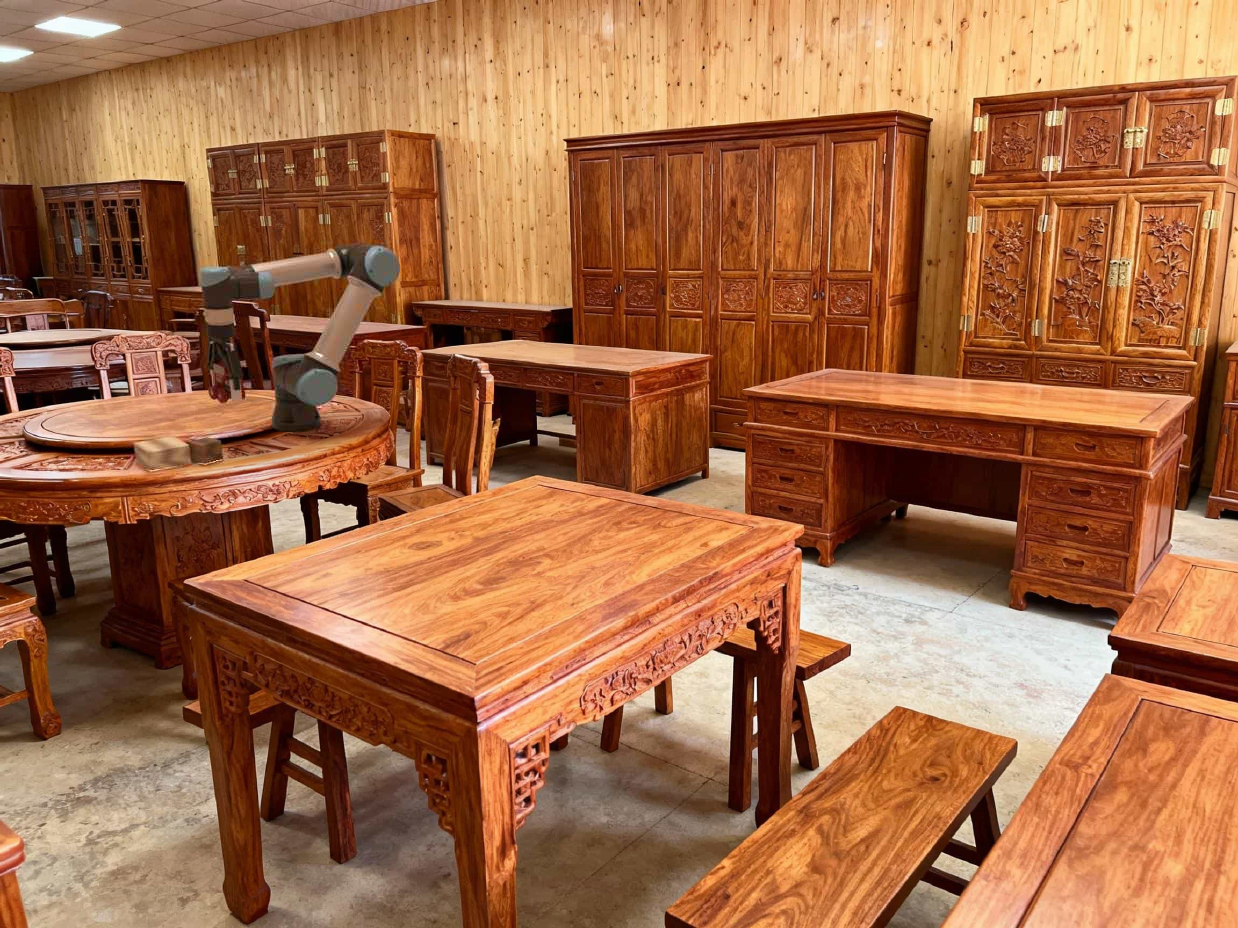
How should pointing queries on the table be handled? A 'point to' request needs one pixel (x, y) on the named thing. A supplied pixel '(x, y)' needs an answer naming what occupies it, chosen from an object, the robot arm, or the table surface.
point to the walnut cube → (205, 450)
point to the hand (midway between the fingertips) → (227, 396)
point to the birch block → (162, 453)
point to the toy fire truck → (222, 384)
